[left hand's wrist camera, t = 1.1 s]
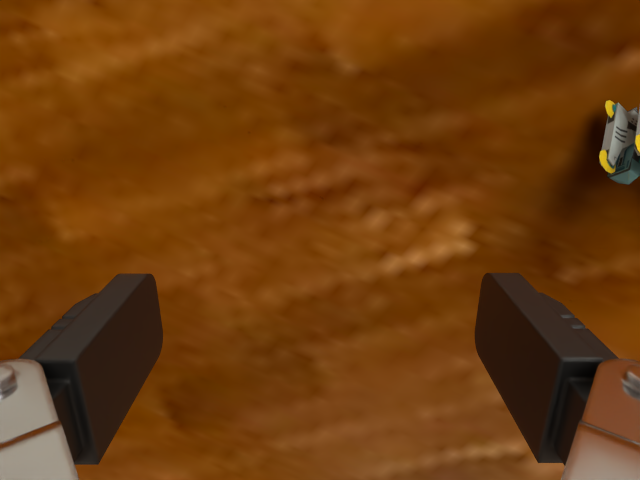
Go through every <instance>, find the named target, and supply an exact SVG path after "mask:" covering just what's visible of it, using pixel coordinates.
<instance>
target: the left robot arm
mask: <svg viewBox="0 0 640 480" xmlns="http://www.w3.org/2000/svg"><path fill="white" fill-rule="evenodd" d="M162 342H163V330H162V323H161V315H160V308H159V301H158V294H157V287H156V282H155V279H154V277H153V275H152V274H118V275H116V276H115V277H114V278H113V279H112V280H111V281H110V282H109V283H108V284H107V285H106V286H105V287H104V289H103V290H102V291H101V292H100V293H99V294H93V295H91V296H90V297H88V298H86V299H84V300H82V301H80V302H78V303H76V304H75V305H74V306H73V307H72V308H71V309H70V310H69V311H68V312H67V313H66V314H64V315H63V316H62V319H59V320H58V321H57V322H56V323H55V324H54V325H53V326H52V327H51V330H48V331H47V332H46V333H45V334H44V335H43V336H42V337H40V338H39V339H38V340H37V341H36V342H35V343H34V344H33V345H32V346H31V347H30V348H29V349H28V350H27V351H26V352H25V353H24V354H23V355H22V356H21V357H20V358H19V359H11V360H5V361H0V480H79V478H78V475H77V472H76V469H75V465H74V464H99V462H100V460H101V459H102V457H103V455H104V453H105V451H106V450H107V448H108V446H109V444H110V443H111V441H112V439H113V437H114V435H115V434H116V432H117V430H118V428H119V427H120V425H121V423H122V421H123V419H124V418H125V416H126V414H127V412H128V411H129V409H130V407H131V405H132V403H133V402H134V400H135V398H136V396H137V395H138V393H139V391H140V389H141V387H142V386H143V384H144V382H145V380H146V379H147V377H148V375H149V373H150V371H151V370H152V368H153V366H154V364H155V362H156V361H157V359H158V357H159V355H160V352H161V348H162ZM475 344H476V349H477V352H478V355H479V357H480V359H481V361H482V362H483V364H484V366H485V368H486V370H487V371H488V373H489V375H490V377H491V379H492V380H493V382H494V384H495V386H496V388H497V390H498V391H499V393H500V395H501V397H502V399H503V400H504V402H505V404H506V406H507V408H508V409H509V411H510V413H511V415H512V417H513V418H514V420H515V422H516V424H517V426H518V427H519V429H520V431H521V433H522V435H523V436H524V438H525V440H526V442H527V444H528V445H529V447H530V449H531V451H532V453H533V454H534V456H535V458H536V460H537V462H538V463H563V464H564V465H565V469H564V472H563V475H562V478H561V480H640V361H635V360H629V359H619V358H618V357H617V356H616V355H615V354H614V353H613V352H611V351H610V350H609V349H608V348H607V347H606V346H605V345H604V344H603V343H602V342H601V341H600V340H599V339H598V338H597V337H596V336H595V335H594V334H593V333H592V332H591V331H590V330H589V329H585V325H584V324H583V323H581V322H580V321H579V320H578V319H577V318H574V315H573V314H572V313H571V312H570V311H569V310H568V309H567V308H566V307H565V306H564V305H563V304H562V303H560V302H558V301H556V300H555V299H553V298H551V297H549V296H547V295H545V294H543V293H538V292H537V291H536V290H535V289H534V288H533V287H532V286H531V285H530V284H529V283H528V282H527V281H526V280H525V279H524V278H523V277H522V275H520V274H519V273H486V274H485V275H484V277H483V279H482V283H481V290H480V297H479V305H478V312H477V319H476V326H475Z"/></svg>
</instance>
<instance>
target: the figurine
mask: <svg viewBox="0 0 640 480" xmlns="http://www.w3.org/2000/svg"><path fill="white" fill-rule="evenodd" d="M605 108H606V111H607V114H608V119H607V124H606V129H605V135H604V140H603V145H602V151H600V155H599V158H600V162H599V163H600V164H601V166H602V167H603V168H604V169H605V170H606V171H607V172H608V174H607V177H608V178H610V179H612V180H614V181H616V182H617V183H622V184H630V183H631V182H632V181H634V180H635V179H636V178H637V177H639V176H640V109H639V115H638V111H637V107H636V108H634V109H632V110H630V111H628V112H627V111H626V110H625V109H624V108H623V107H622V106H621V105H620V104H619V103H617V104H615V103H613V102H612V101H610V100H609V101H606V104H605Z"/></svg>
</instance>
